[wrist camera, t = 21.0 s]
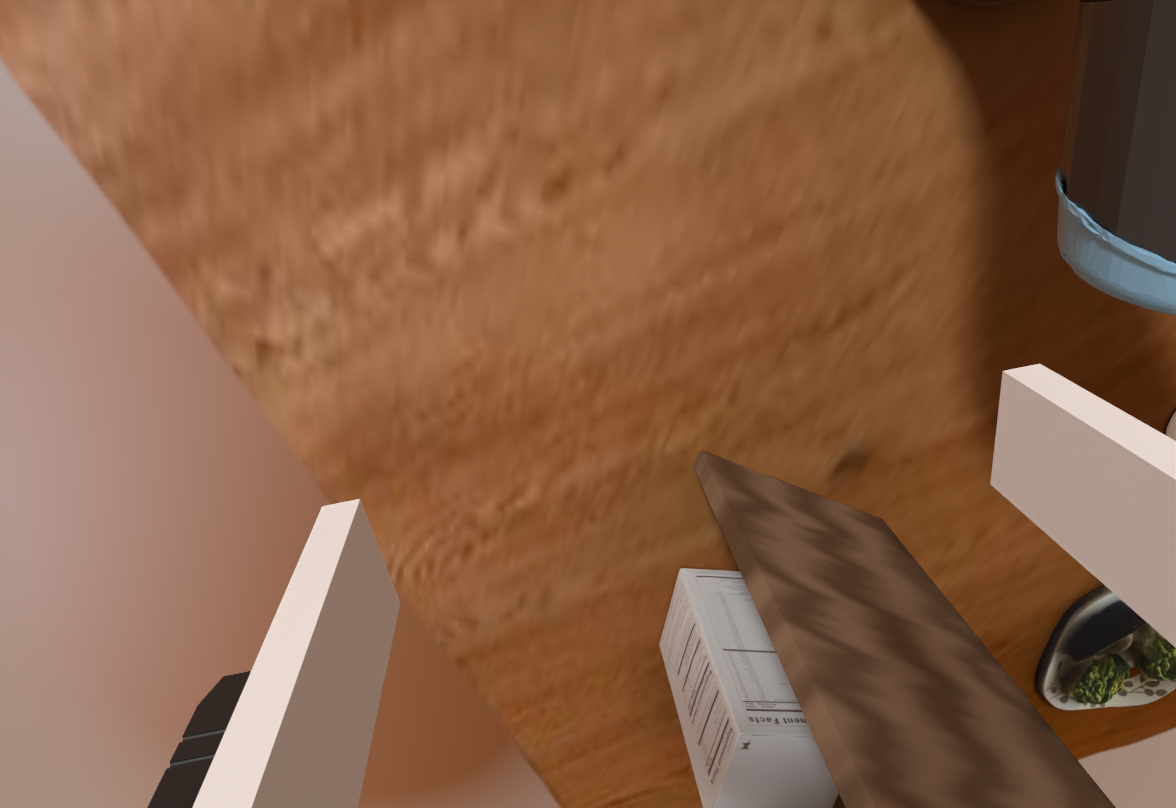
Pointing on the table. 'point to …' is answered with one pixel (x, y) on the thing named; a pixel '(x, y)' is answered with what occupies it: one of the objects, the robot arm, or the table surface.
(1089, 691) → the salad plate
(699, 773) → the supplement box
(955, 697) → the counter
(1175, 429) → the wineglass
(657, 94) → the table surface
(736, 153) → the table surface
